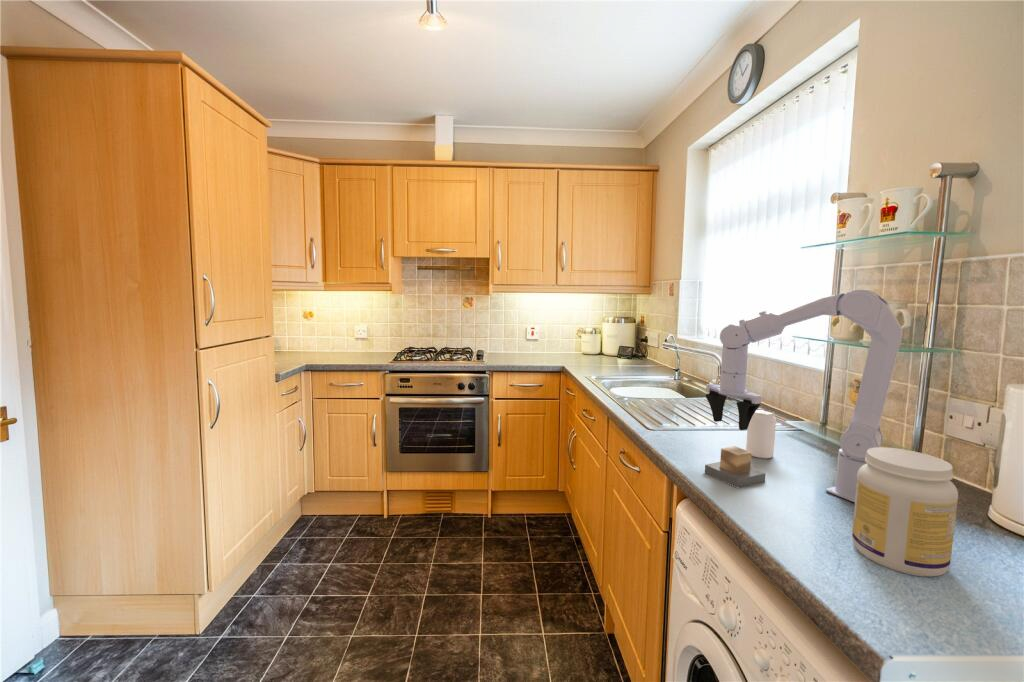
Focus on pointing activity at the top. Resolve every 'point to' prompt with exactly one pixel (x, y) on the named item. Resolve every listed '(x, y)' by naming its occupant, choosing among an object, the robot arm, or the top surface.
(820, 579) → the top surface
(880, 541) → the supplement tub
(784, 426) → the top surface
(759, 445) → the can
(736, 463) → the oak block
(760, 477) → the slate base
